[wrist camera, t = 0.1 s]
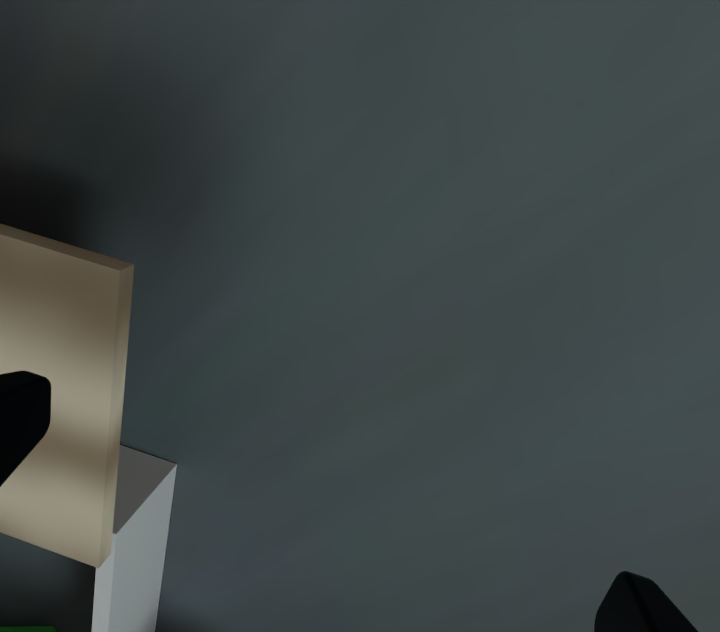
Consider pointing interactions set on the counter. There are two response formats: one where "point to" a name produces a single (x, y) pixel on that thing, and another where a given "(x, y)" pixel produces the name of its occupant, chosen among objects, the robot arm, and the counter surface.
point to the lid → (66, 389)
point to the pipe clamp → (28, 629)
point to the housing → (135, 545)
